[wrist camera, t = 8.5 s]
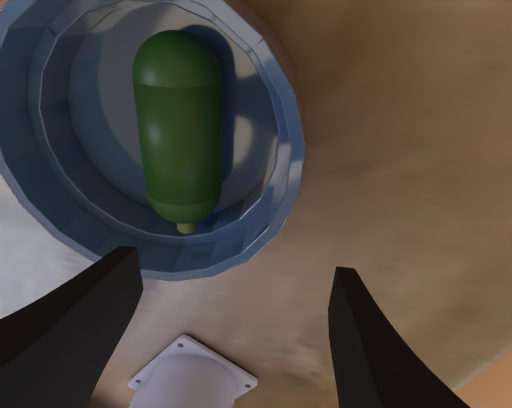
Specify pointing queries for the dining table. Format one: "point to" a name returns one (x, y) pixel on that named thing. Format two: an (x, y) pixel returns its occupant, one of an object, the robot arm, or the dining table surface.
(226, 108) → the bowl
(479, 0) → the dining table surface
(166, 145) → the zucchini
